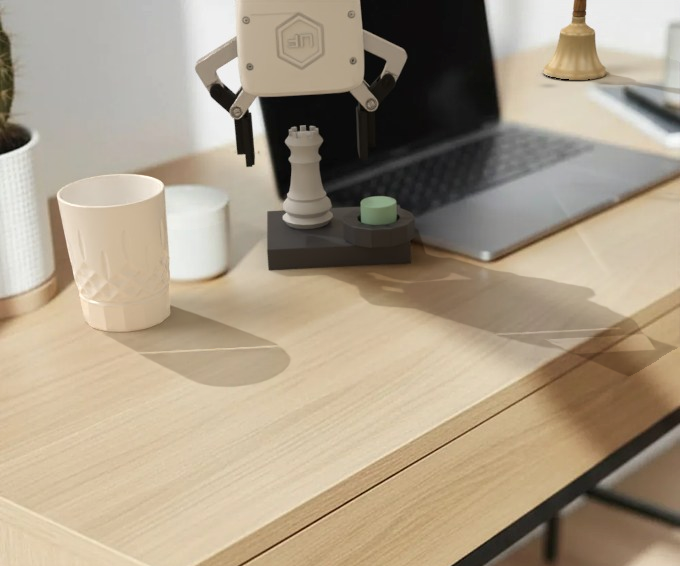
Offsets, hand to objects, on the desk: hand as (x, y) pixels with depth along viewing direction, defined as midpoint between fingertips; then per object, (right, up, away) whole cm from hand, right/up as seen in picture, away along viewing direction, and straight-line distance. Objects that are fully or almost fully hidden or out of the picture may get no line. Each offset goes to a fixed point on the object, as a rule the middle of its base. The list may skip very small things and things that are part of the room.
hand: (306, 159), depth 103 cm
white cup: (-14, -15, -9) cm, 22 cm away
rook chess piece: (0, -5, +3) cm, 6 cm away
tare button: (+6, -6, -1) cm, 8 cm away
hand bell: (+34, +27, +55) cm, 70 cm away
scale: (+3, -7, +3) cm, 8 cm away
